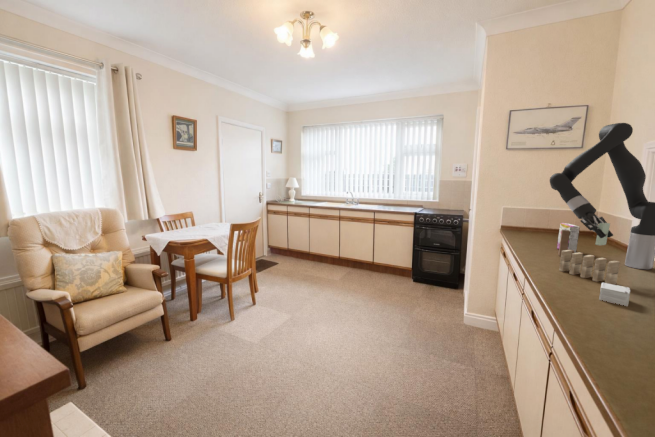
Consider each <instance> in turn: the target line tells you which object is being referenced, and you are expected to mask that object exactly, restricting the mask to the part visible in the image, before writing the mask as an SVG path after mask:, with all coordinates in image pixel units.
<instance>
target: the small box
mask: <svg viewBox="0 0 655 437" xmlns="http://www.w3.org/2000/svg"><path fill="white" fill-rule="evenodd" d="M599 290H600V292H599V298H598V300H599V301H602V300H603V302H606V301H607V303H612V304H615V303H616V304H615V305H619V304H620V306H623V305H624V307H628V306H629V302H630V295H631V288H630V287H628V286H622V285H619V284H614V285H613V284H608V283H605V282H603V281H601V285H600V289H599Z"/></svg>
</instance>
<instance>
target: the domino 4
mask: <svg viewBox="0 0 655 437" xmlns="http://www.w3.org/2000/svg"><path fill="white" fill-rule="evenodd" d="M598 225H599V228H600V229H601V230H602V231H603V232H604V233H605V235H606V236H605V237H604V238H600V237H599V236H598V235H597V234H596V238H595V245H596V246H606V245H607V241H608V237H607V236H608V231H609V230H610V226H611V223H608V222H607V223H599V224H598Z"/></svg>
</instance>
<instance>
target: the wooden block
mask: <svg viewBox="0 0 655 437" xmlns="http://www.w3.org/2000/svg"><path fill="white" fill-rule="evenodd" d="M569 234H570V231H569V230H562V231H561V238H560V246H559V249H558V256H559V257H561V252H562V251H564V250H569V249H568V241H569ZM571 251H572V253H574V250H571ZM571 259H572V255H571Z"/></svg>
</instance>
